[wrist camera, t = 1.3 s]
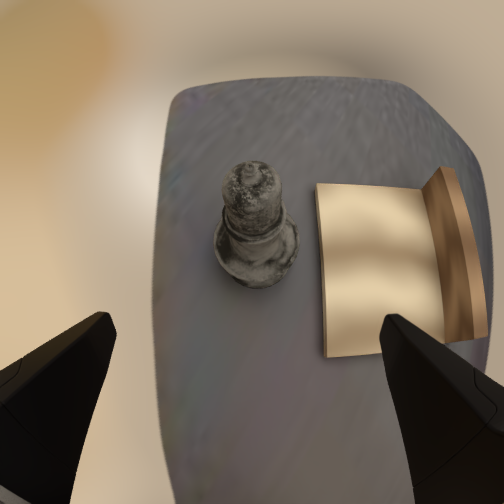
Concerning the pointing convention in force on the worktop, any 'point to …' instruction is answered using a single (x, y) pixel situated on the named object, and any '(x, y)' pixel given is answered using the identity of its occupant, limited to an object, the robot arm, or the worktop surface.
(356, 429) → the worktop surface
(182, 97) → the worktop surface
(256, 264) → the grey tall rounded piece
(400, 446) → the worktop surface
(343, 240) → the board
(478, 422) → the robot arm
